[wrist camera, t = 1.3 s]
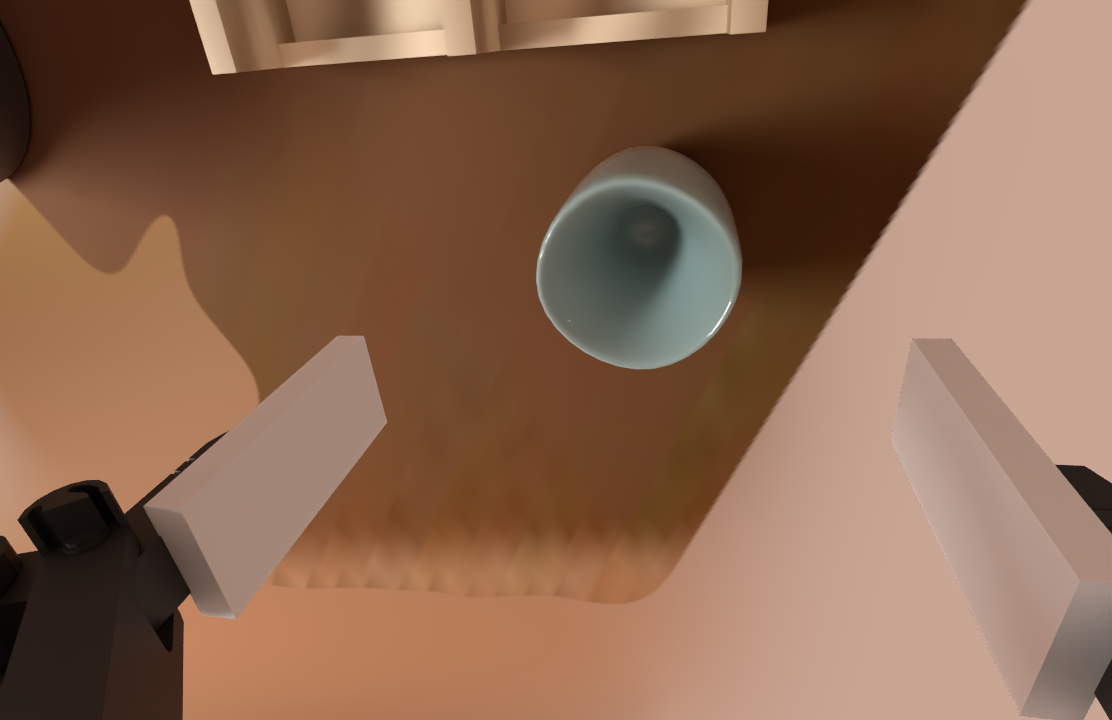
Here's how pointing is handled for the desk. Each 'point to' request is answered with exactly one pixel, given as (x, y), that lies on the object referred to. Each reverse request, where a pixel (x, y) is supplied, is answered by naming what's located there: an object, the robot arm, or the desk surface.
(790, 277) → the desk surface
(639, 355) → the cup
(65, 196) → the desk surface
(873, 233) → the desk surface
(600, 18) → the rack
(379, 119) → the desk surface
